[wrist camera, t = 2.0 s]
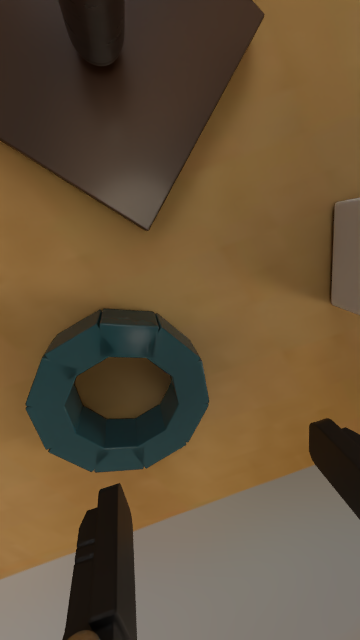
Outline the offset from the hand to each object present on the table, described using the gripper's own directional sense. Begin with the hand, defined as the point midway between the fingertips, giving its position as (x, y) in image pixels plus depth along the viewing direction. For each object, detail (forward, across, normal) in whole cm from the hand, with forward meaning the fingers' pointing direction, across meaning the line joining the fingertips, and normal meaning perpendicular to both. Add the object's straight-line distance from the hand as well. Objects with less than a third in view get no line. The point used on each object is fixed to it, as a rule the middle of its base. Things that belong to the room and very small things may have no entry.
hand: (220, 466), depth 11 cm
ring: (+9, +4, 0) cm, 10 cm away
